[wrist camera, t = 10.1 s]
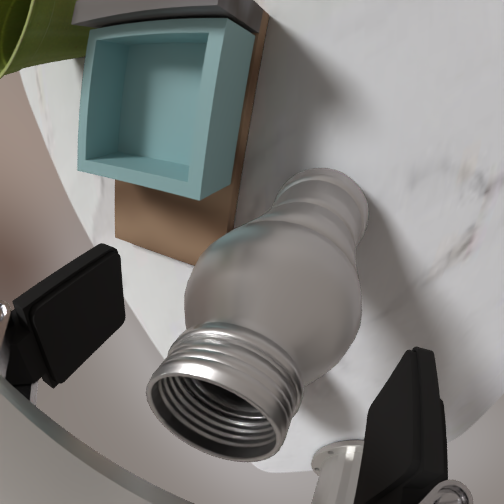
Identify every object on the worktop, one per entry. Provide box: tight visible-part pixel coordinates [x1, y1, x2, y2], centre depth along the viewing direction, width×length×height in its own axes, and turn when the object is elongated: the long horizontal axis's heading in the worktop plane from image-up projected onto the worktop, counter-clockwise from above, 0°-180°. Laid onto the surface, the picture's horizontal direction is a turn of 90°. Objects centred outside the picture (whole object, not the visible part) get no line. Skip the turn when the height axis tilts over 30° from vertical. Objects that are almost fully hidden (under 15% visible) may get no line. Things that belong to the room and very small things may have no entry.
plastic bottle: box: [146, 168, 369, 462], centre depth 16 cm, size 6×7×20 cm
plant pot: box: [0, 0, 97, 79], centre depth 19 cm, size 12×12×11 cm
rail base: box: [71, 0, 269, 266], centre depth 22 cm, size 22×12×8 cm, turn 170°
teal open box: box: [78, 18, 255, 201], centre depth 21 cm, size 12×12×5 cm
